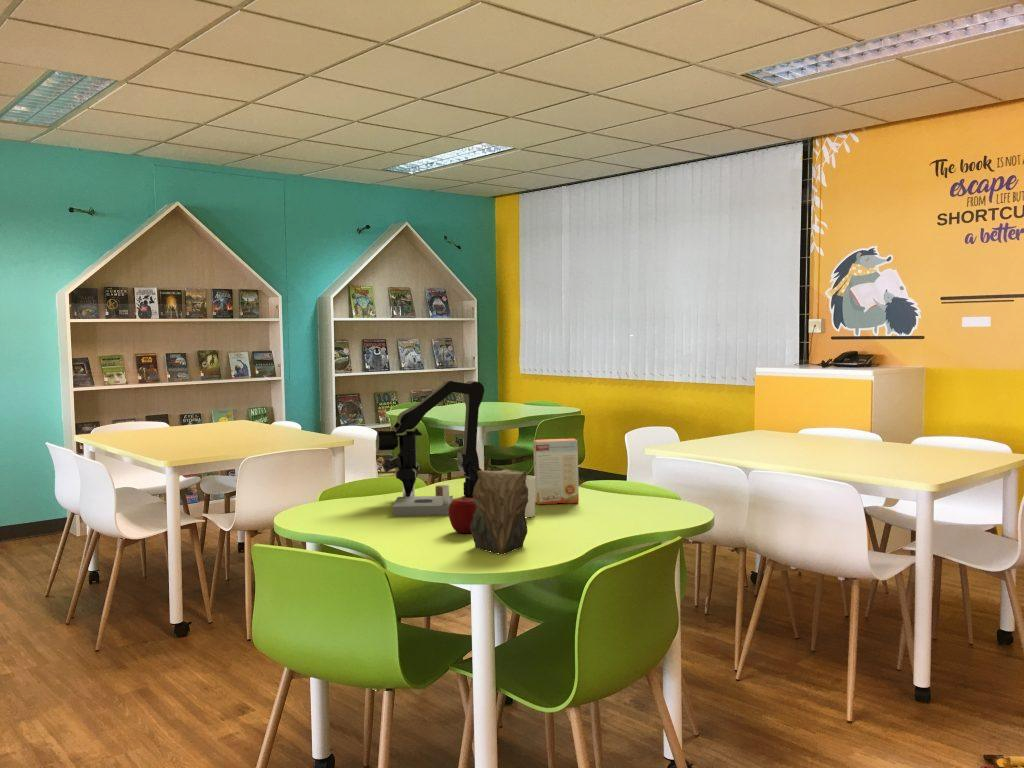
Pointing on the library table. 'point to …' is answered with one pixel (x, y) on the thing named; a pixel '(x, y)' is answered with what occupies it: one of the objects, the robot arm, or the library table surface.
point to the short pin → (439, 490)
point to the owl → (500, 510)
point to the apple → (461, 514)
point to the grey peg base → (423, 505)
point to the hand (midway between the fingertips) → (408, 495)
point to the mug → (530, 496)
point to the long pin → (411, 492)
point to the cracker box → (556, 471)
